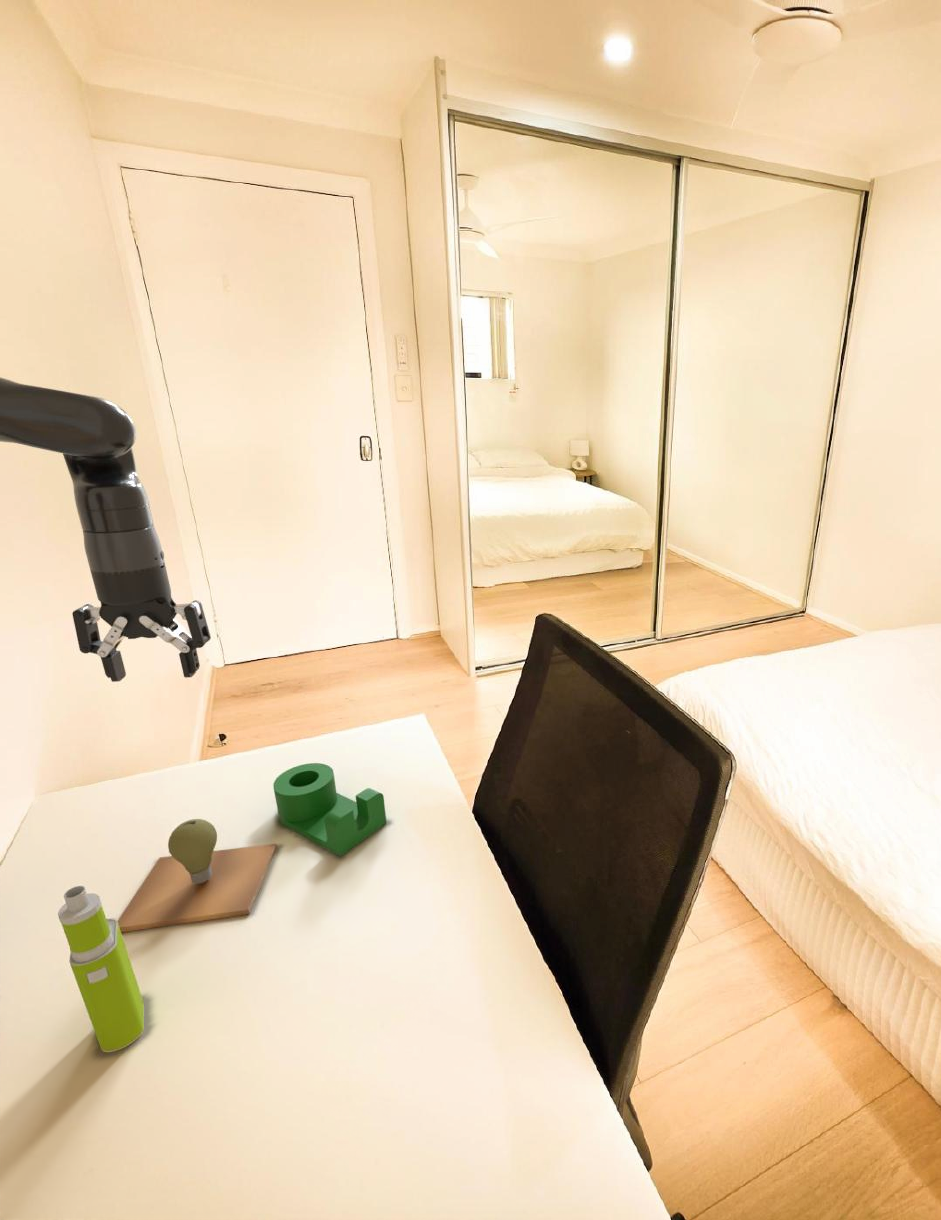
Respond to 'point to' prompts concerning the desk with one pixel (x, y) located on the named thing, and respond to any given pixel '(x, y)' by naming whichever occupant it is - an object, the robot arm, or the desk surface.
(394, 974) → the desk surface
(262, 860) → the brown wooden board
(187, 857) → the light bulb
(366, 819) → the slotted cylinder bracket
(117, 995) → the vape
